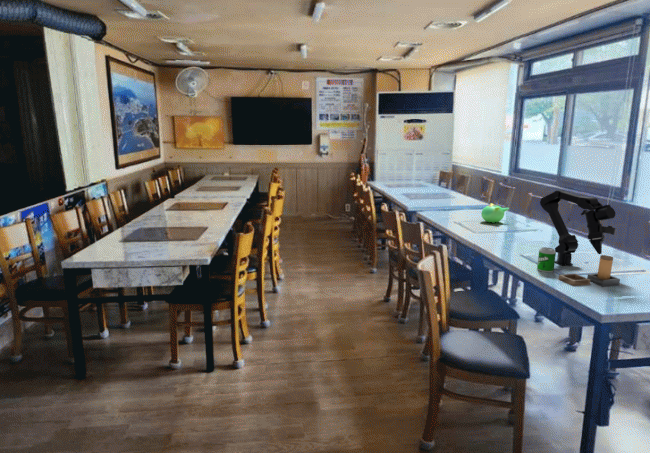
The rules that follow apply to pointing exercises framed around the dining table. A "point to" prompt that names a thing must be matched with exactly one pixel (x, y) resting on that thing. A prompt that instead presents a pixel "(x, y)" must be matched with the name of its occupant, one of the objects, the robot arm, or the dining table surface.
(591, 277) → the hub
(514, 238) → the dining table surface
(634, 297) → the dining table surface
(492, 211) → the toy bird
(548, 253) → the soda can
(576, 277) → the stand
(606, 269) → the wooden dowel rod
